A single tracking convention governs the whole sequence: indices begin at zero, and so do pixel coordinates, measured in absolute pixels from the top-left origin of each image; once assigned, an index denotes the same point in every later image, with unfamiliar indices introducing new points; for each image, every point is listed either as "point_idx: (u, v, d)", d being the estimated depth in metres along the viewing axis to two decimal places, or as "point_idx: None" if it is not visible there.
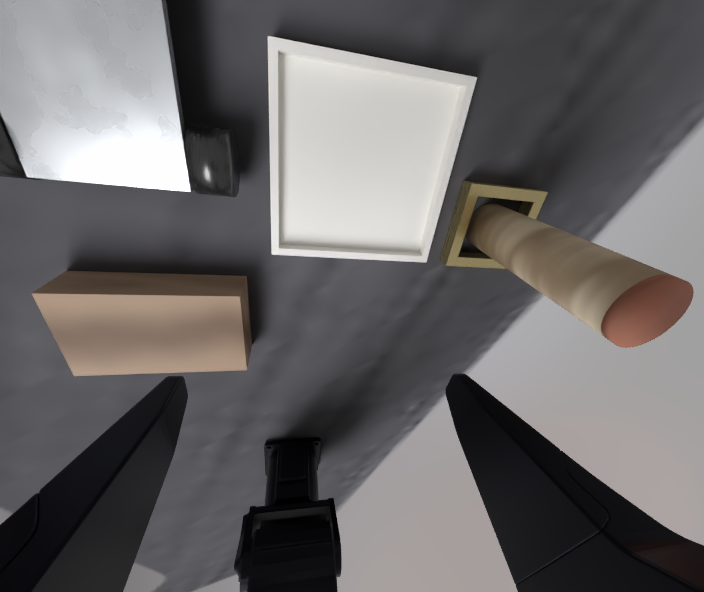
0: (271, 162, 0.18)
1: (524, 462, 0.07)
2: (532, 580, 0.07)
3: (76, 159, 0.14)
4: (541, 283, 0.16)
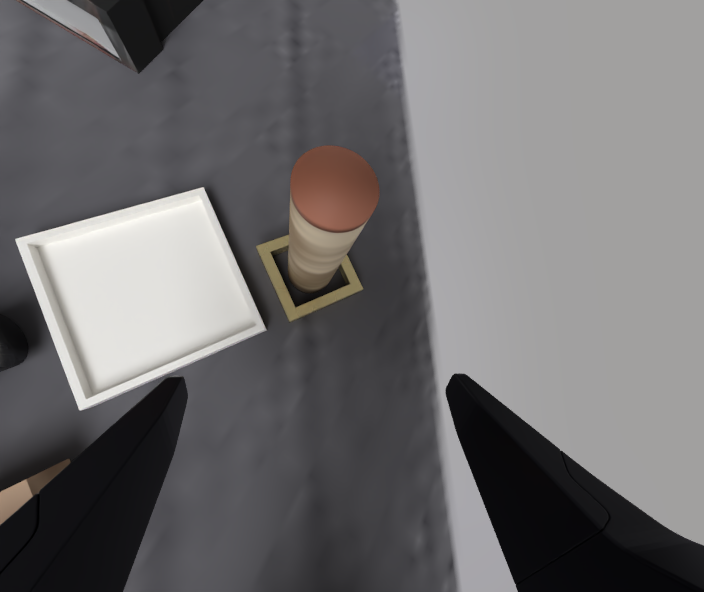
0: (47, 321, 0.18)
1: (524, 462, 0.07)
2: (532, 580, 0.07)
3: None
4: (300, 252, 0.15)
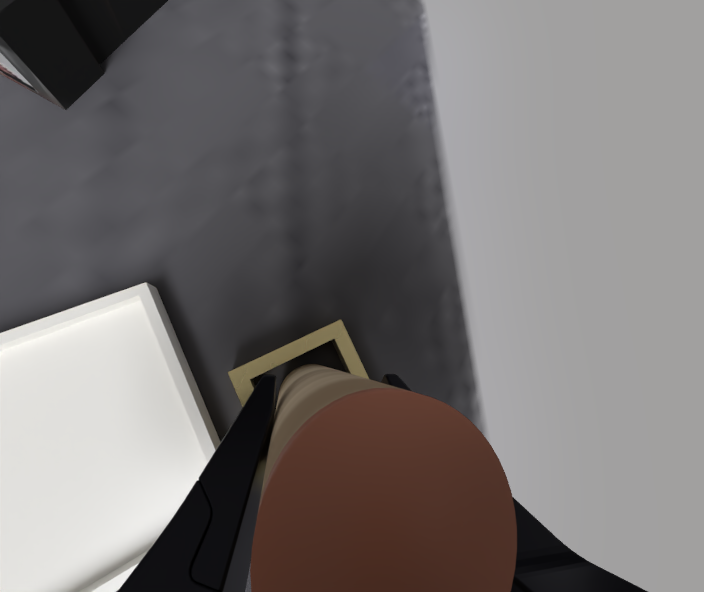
0: None
1: None
2: None
3: None
4: None
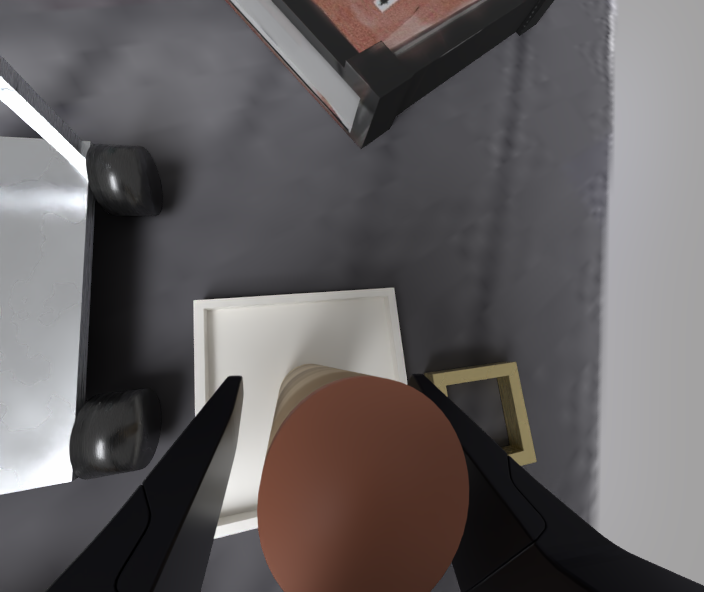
0: (196, 411, 0.15)
1: (468, 467, 0.07)
2: (476, 591, 0.07)
3: None
4: None
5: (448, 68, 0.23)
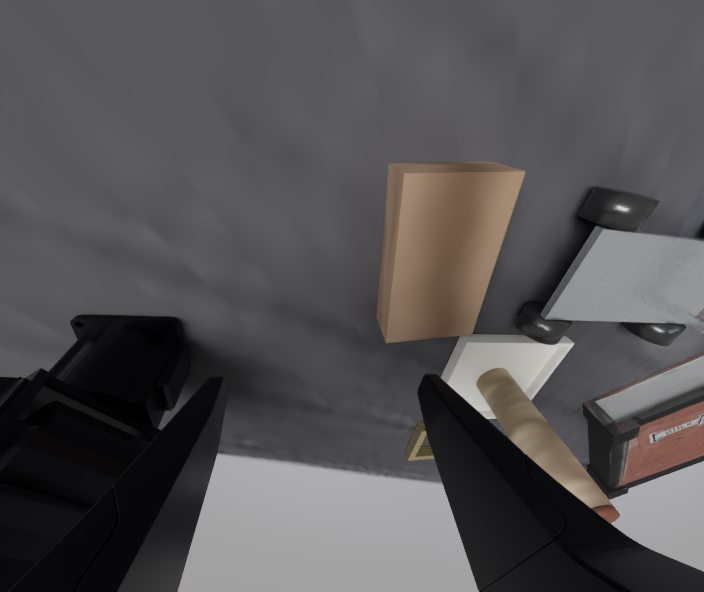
0: (523, 343, 0.27)
1: (486, 465, 0.07)
2: (494, 588, 0.07)
3: (594, 263, 0.21)
4: (546, 455, 0.23)
5: (597, 444, 0.42)
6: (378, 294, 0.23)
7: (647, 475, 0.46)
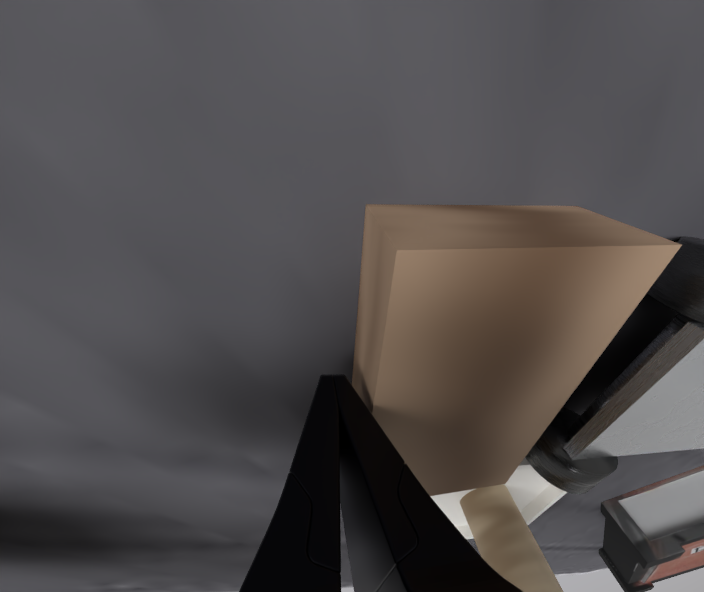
0: None
1: (360, 477, 0.06)
2: None
3: (675, 385, 0.11)
4: None
5: (617, 542, 0.33)
6: None
7: (678, 572, 0.36)
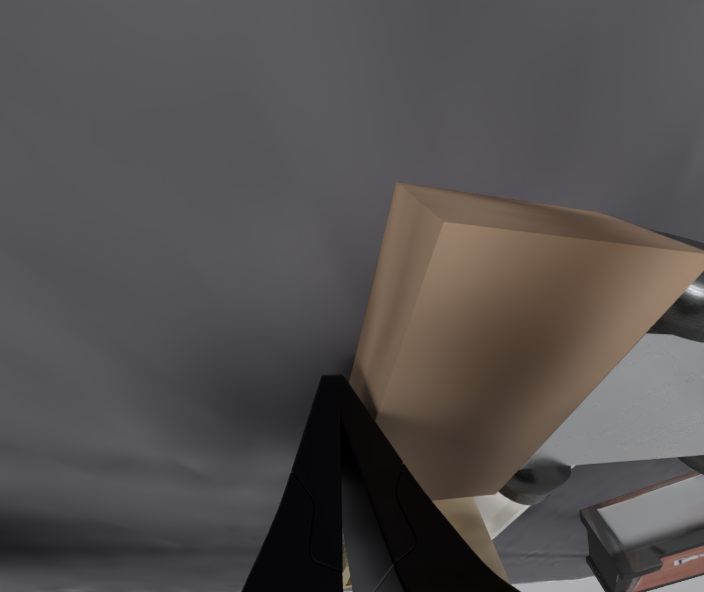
0: None
1: (358, 477, 0.06)
2: None
3: (618, 390, 0.10)
4: None
5: (599, 552, 0.31)
6: None
7: (665, 583, 0.35)
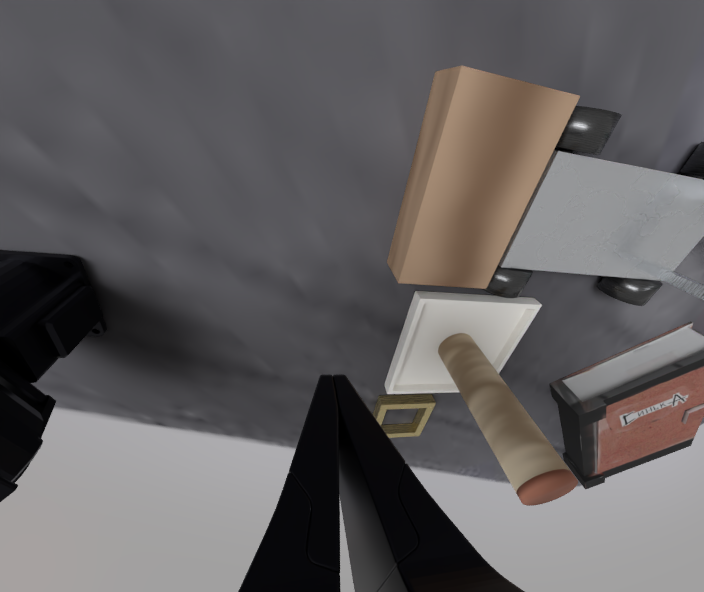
0: (484, 302, 0.25)
1: (360, 477, 0.06)
2: None
3: (551, 196, 0.18)
4: (501, 418, 0.20)
5: (568, 428, 0.40)
6: (394, 234, 0.21)
7: (624, 463, 0.44)
